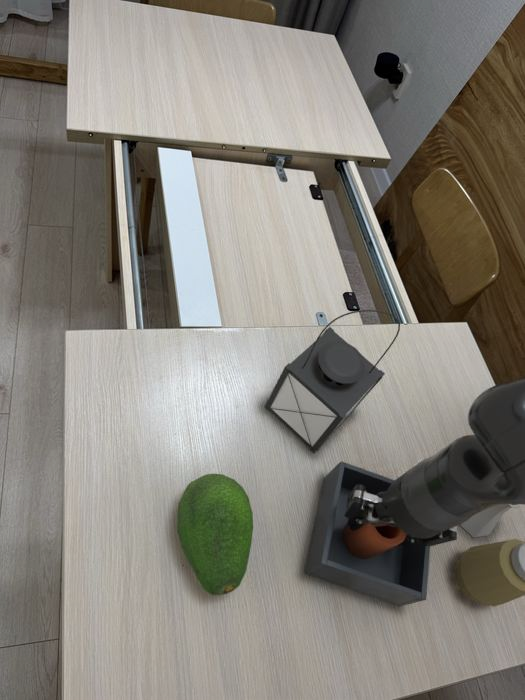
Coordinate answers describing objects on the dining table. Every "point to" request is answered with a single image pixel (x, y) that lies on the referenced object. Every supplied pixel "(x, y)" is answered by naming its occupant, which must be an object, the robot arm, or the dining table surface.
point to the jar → (372, 539)
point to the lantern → (323, 386)
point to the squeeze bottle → (493, 572)
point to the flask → (486, 520)
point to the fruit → (216, 531)
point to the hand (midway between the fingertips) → (374, 530)
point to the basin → (351, 571)
